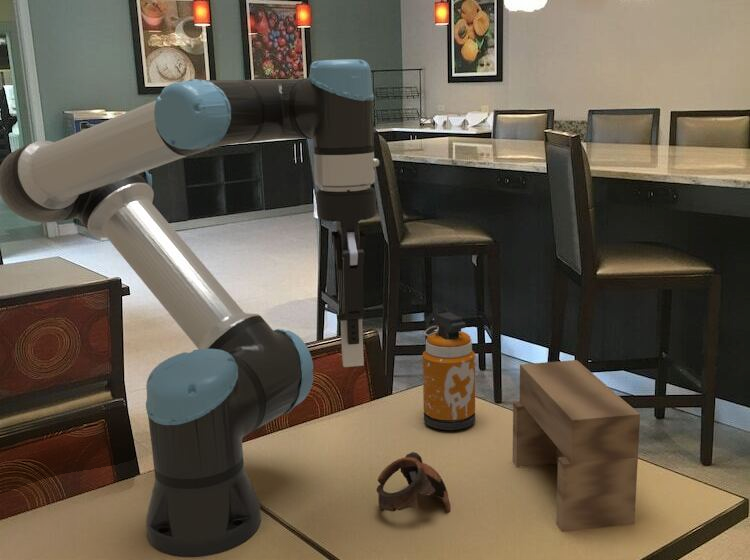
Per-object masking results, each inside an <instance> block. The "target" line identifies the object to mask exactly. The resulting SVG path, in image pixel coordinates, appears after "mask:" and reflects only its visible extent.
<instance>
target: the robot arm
mask: <svg viewBox="0 0 750 560" xmlns="http://www.w3.org/2000/svg"><path fill="white" fill-rule="evenodd" d="M309 66H310V68H309V76H308V77H304V78H287V79H286V78H279V79H278V78H275V79H273V78H271V79H270V78H269V79H268V78H263V79H258V78H257V79H256V78H255V79H235V80H234V79H233V80H232V79H231V80H227V79H226V80H225V79H224V80H223V79H222V80H217V79H209V80H205V79H198V78H193V79H192V78H191V79H189V80H184V81H177V82H172V83H170V84H168V85H166V86H165V87H164V88H162V90H161V92H160V94H159V96H157V98H156V100H154V101H150V102H148V103H146V104H143V105H141V106H138V107H137V108H134V109H132V110H128V111H127V112H124V113H122V114H120V115H117V116H114V117H111V118H110V119H108V120H104V121H103V122H100V123H98V124H95V125H93V126H91V127H88V128H85V129H83V130H81V131H77V132H75V133H73V134H70V135H68V136H67V137H63V138H62V139H59V140H57V141H52V140H38V141H34V142H31V143H30V144H29V143H28V144H26V145H24V146H22V147H18V148H17V149H15V150H13V151H12V152H10V153H9V154H7V156H6V157H5V158H4V159H3V160H2V162H1V164H0V198H1V200H2V202H3V203H4V205H6V206H7V208H9V210H10V211H11V212H12V213H14V214H15V215H17V216H19V217H21V218H23V219H24V220H28V221H31V222H36V223H42V224H44V223H57V222H63V221H67V220H74V219H77V220H79V221H80V222H81V224H82V225H83V226H84V227H85V228H86V229H87V231H88V232H89V234H90V235H92V236H93V237H94V238H95V237H96V238H101V239H102V238H103V239H104V238H105V239H108V241H109V242H110V243H111V244H112V245H113V247H114V248H115V249H116V251H117V252H118V253H119V254H120V256H121V257H122V258H123V259H124V260H125V262H126V263H127V264H128V265H129V267H131V269H132V270H133V271H134V272H135V274H136V275H137V276H138V277H139V278H140V280H141V281H142V282H143V283H144V285H145V286H146V287H147V288H148V290H149V291H150V292H151V293H152V295H153V296H154V297H155V298H156V299H157V301H159V303H160V304H161V305H162V306H163V308H164V309H165V310H166V312H167V313H168V314H169V315H170V316H171V318H172V319H173V320H174V321H175V323H176V324H177V325H178V326H179V328H180V329H181V330H182V331H183V332H184V334H185V335H186V336H187V338H189V339H190V341H191V342H192V344H193V345H194V346H195V347H196V348H197V349H193V350H192V351H190V352H187V351H184V352H181V353H178V354H175V355H173V356H171V357H169V358H167V359H165V360H163V361H162V362H160V363H159V364H157V365H156V366H155V367H154V368H153V369H152V371H151V372H150V374H149V375H148V377H147V379H146V380H147V381H146V401H145V408H146V409H145V410H146V414H147V418H148V424H149V426H148V427H149V435H150V444H151V451H152V461H153V462H152V463H153V470H154V485H153V488H152V492H151V497H150V500H149V506H148V508H147V513H146V518H145V519H146V520H145V525H146V534H147V540H148V542H149V543H150V545H151V547H153V548H155V549H156V550H158V551H160V552H161V553H163V554H166V555H170V556H177V557H186V558H187V557H188V558H189V557H190V558H191V557H192V558H195V557H196V558H197V557H205V556H206V557H207V556H212V555H215V554H220V553H222V552H226V551H229V550H231V549H233V548H236V547H238V546H240V545H242V544H243V543H245V542H246V541H247V540H249V539H251V537H252V536H254V535H255V533H256V532H257V531H258V529H260V528H259V527H260V525H261V522H262V513H261V504H260V501H259V500H260V499H259V497H258V495H257V493H256V491H255V488H254V487H253V484H252V482H251V480H250V477H249V475H248V473H247V471H246V468H245V465H244V464H245V463H244V450H243V438H244V437H245V436H247V435H249V434H251V433H252V432H254V431H256V430H257V429H260V428H261V427H263V426H264V425H266V424H268V423H270V422H272V421H273V420H275V419H277V418H278V417H280V416H284V415H286V414H288V413H291V411H293V409H294V408H295V407H296V406H298V405H299V404H301V403H302V402H303V401H304V400H305V399H306V397H308V395H309V393H310V391H311V389H312V386H313V384H314V383H313V382H314V372H313V370H314V363H313V358H312V355H311V353H310V350H309V349H308V346H307V344H306V343H305V341H304V340H303V339H302V338H301V337H300V336H299V335H297V334H296V333H295V332H293V331H291V330H285V329H284V328H283V329H280V328H277V329H274V330H273V329H272V327H271V326H270V325H269V324H268V322H266V321H265V320H264V318H263V316H261V315H260V314H258V313H248V312H247V313H246V312H245V311H244V310H243V309H242V308H241V306H240V305H239V304H238V303H237V302H236V301H235V299H233V297H232V296H231V295H230V294H229V292H228V291H227V289H225V288H224V287H223V285H222V284H220V282H219V281H218V280H217V279H216V277H215V276H214V275H213V273H212V272H211V271H210V270H209V269H208V268H207V266H205V264H204V263H203V261H201V260H200V258H199V257H198V256H197V255H196V254H195V252H193V250H192V249H191V248H190V246H189V245H188V244H187V243H186V242H185V241H184V240H183V238H182V236H180V235H179V234H178V232H177V231H176V230H175V229H174V228H173V226H172V225H171V224H170V223H169V222H168V221H167V219H166V218H165V217H164V216H163V214H161V212H160V211H159V210H158V209H157V208H156V206H155V205H154V204H153V200H154V196H155V195H154V189H153V187H152V186H153V177H152V174H151V173H149V171H150V170H152V169H155V168H159V167H160V166H163V165H166V164H169V163H173V162H174V161H178V160H180V159H183V158H186V157H188V156H193V155H196V154H199V153H203V152H206V151H208V150H212V149H214V148H218V147H223V146H228V145H237V144H244V143H245V144H246V143H247V144H248V143H254V142H264V141H272V140H291V139H292V140H293V139H295V140H297V139H304V140H305V139H306V140H312V142H313V151H314V152H313V164H314V166H313V167H314V183H315V185H316V186H318V187H320V188H319V189H317V191H316V192H315V193H316V194H315V195H316V196H315V197H316V215H317V218H319V219H320V220H322V221H325V222H332V223H333V222H335V223H336V225H335V226H336V231H331V233H330V234H331V238H330V239H331V244H332V246H333V258H334V263H335V266H336V277H337V278H336V279H337V294H338V295H337V296H338V299H337V304H338V307H339V313H340V314H336V321H337V322H339V321H340V336H341V337H340V338H341V361H342V367H343V368H349V367H362V366H365V358H364V331H363V319H364V318H365V314H366V309H365V307H364V304H365V303H364V267H365V262H364V261H365V260H364V259H365V255H366V253H365V250H364V248H365V247H366V236H365V233H363V231H362V229H360V226H359V222H360V221H363V220H364V221H367V220H370V219H373V218H375V216H376V215H377V190H376V189H375V187H373V186H371V185H373V184H374V183H375V182H376V173H375V172H376V170H375V169H374V168H375V167H378V166H380V160H379V159H378V158H374V157H375V144H374V99H375V95H374V92H373V82H372V72H371V67H370V64H369V63H368V62H367V61H365V60H363V59H355V58H354V59H352V58H351V59H346V58H345V59H325V60H324V59H323V60H316V61H313V62H312V63H311V64H310V65H309Z"/></svg>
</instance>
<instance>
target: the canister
mask: <svg viewBox="0 0 750 560" xmlns="http://www.w3.org/2000/svg"><path fill="white" fill-rule="evenodd" d="M424 321H425V322H424V323H425V327H426V330H425V331H424V332H423V334H424V335H425V336H426V340H425V350H424V351H423V352H422V387H423V388H422V389H423V391H422V393H423V400H422V401H423V421H424V422H425V424H426V425H428V426H430V427H433V428H436V429H439V430H444V431H455V430H461V429H465V428H468V427H470V426H471V425H473V424H475V421H476V353H475V351H474V350H473V341H472V338H471V336H470V335H469V334H468V333H467V332H464V331H462V329H465V328H466V322H465V321H463V317H461V316H458V315H456V314H454V313H451V312H449V310H448V308H447V307H446V308H445V309H443V310H442V311H441V312H439V313H438V312H437V310H436V309H435V310H433V311H432V312H430V313H429V314H428V315H427V316H426V317H425V318H424ZM431 321H433V324H429V323H430V322H431Z"/></svg>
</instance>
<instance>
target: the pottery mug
mask: <svg viewBox="0 0 750 560" xmlns="http://www.w3.org/2000/svg"><path fill="white" fill-rule="evenodd" d="M399 470H400V473H401V474H402V475H403V477H404V479H405V480H406V482H407V484H408V486H407V487H405V488H403V489H401V490H399V491H395V492H388V491H385V490H384V488H385V484H386V483H387V481H388V480H389V479H390V478H391V477H392V476H393V475H394V474H395V473H396V472H398V471H399ZM377 482H378V483H379V484H378V486H377V487H376V493H377V494H378V495H377V496H378V498H377V499H378V507H379V508H380V509H381V510H382V511H384V510H385V511H388V512H391V513H392V512H393V513H394V512H396V511H404V510H405V509H408V508H413V509H416V510H418V509H420V506H419V503H418V502H419V501H418V494H420V495H422V496H423V495H429V496H430V497H435V498H440V499H442V502H443V504H444V505H445V510H446V512H447V513H449V512H450V511H451V502H450V498H449V493H448V490H447V488H446V484H445V483H444V480H443V479H442V477H441V475H440V474H439V473H438V472H437V471H436V469H435V468H434V467H432V466H431V465H429V464H427V463H424V462H423V458H422V457H421V455H419V453H417V452H415V451H411V452H410V453H407V454H406V455H405V457H401V458H399V459H396V460H395V461H392V462H391V463H389V464H387V466H386V467H385V468H384V469H383V470H382V471H381V473H380V474H379V476H378V478H377Z"/></svg>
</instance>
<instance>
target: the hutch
mask: <svg viewBox="0 0 750 560" xmlns="http://www.w3.org/2000/svg"><path fill="white" fill-rule="evenodd" d="M640 422H641V413H639V411H637V410H636V409H635V408H634V407H632V406H631V405H630V404H629V403H628V402H627V401H625V400H624V399H623V397H621V396H619V394H617V393H616V392H615V391H613V389H611V388H610V386H608V385H607V384H606V383H604V382H603V381H602V380H601V379H600V378H599V377H597V376H596V375H595V374H594V373H593V372H592V371H590V369H588V368H587V367H586V366H584V365H583V364H582V362H580V361H579V360H578V359H572V360H571V359H570V360H560V361H547V362H535V363H523V364H521V363H520V364H519V401H513V403H512V463H513V465H514V466H515V467H516V468H521V467H520V466H525V467H533V465H536V466H545V465H553V464H554V465H556V466H557V479H556V481H557V485H556V518H555V519H556V520H555V521H556V523H555V524H556V525H557V528H559V530H560V531H561V532H563V533H564V532H571V531H572V532H573V531H574V532H575V531H581V530H591V529H593V530H594V529H601V528H610V527H621V526H629V525H631V526H632V525H635V518H636V517H635V516H636V499H637V497H636V496H637V481H638V480H637V479H638V464H639V463H638V461H639V442H640V441H639V440H640V424H641V423H640Z"/></svg>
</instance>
